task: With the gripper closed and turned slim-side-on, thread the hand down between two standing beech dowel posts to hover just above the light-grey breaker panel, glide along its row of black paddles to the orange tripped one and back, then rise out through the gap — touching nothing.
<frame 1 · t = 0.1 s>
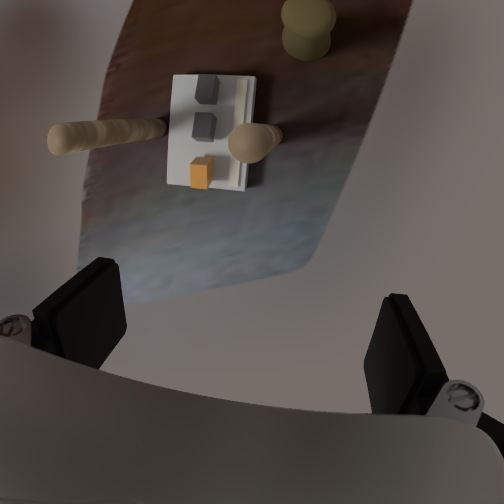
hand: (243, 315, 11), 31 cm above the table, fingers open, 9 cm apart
panel: (212, 130, 38), on the table
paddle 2: (204, 127, 35), point 4 cm above the table, hinge at -15.0°
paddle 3: (201, 172, 37), point 4 cm above the table, hinge at 15.0°
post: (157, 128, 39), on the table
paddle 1: (207, 89, 33), point 4 cm above the table, hinge at -15.0°
cork: (306, 39, 33), on the table
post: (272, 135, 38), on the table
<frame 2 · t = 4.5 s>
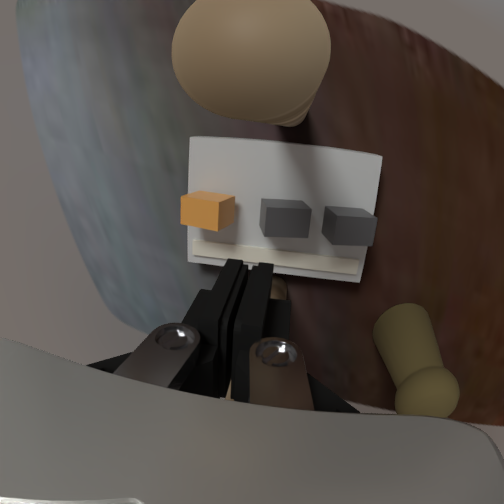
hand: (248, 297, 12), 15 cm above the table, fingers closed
panel: (281, 204, 26), on the table
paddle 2: (284, 217, 22), point 4 cm above the table, hinge at -15.0°
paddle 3: (207, 209, 23), point 4 cm above the table, hinge at 15.0°
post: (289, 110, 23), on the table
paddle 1: (348, 225, 22), point 4 cm above the table, hinge at -15.0°
cork: (401, 328, 28), on the table
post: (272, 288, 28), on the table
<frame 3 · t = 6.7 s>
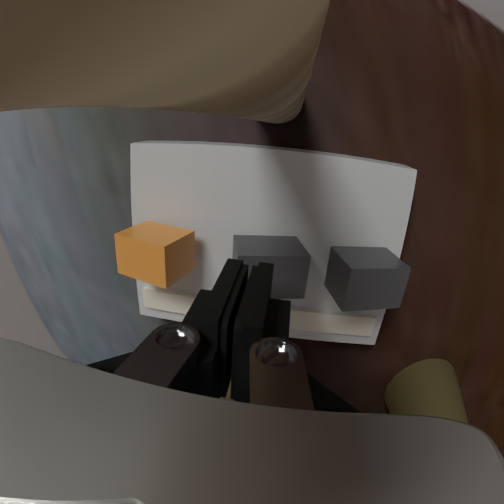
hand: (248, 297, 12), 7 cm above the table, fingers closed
panel: (265, 237, 18), on the table
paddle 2: (268, 265, 15), point 4 cm above the table, hinge at -15.0°
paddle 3: (155, 252, 15), point 4 cm above the table, hinge at 15.0°
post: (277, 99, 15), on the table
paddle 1: (366, 277, 14), point 4 cm above the table, hinge at -15.0°
cork: (420, 386, 21), on the table
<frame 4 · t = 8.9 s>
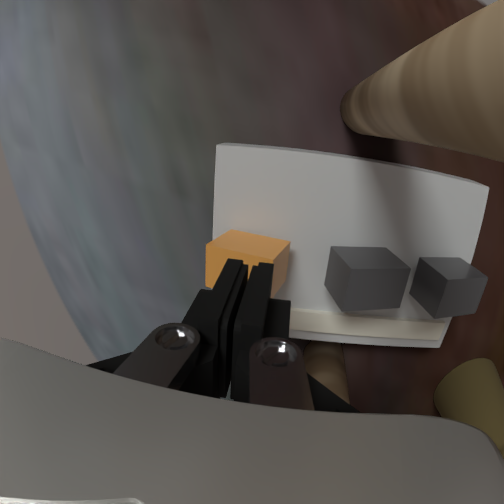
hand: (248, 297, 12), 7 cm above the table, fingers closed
panel: (346, 247, 17), on the table
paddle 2: (366, 277, 14), point 4 cm above the table, hinge at -15.0°
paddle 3: (248, 263, 15), point 4 cm above the table, hinge at 15.0°
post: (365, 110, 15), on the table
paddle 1: (448, 285, 14), point 4 cm above the table, hinge at -15.0°
cork: (464, 384, 20), on the table
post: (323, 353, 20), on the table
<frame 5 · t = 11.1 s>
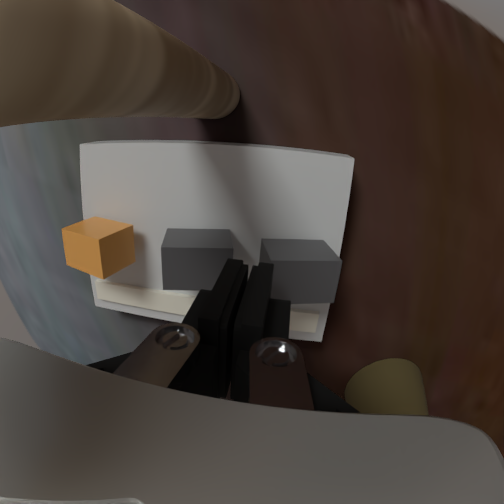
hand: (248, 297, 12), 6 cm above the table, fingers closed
panel: (208, 231, 18), on the table
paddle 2: (197, 258, 15), point 4 cm above the table, hinge at -15.0°
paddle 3: (98, 245, 15), point 4 cm above the table, hinge at 15.0°
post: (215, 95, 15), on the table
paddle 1: (297, 270, 14), point 4 cm above the table, hinge at -15.0°
cork: (383, 386, 21), on the table
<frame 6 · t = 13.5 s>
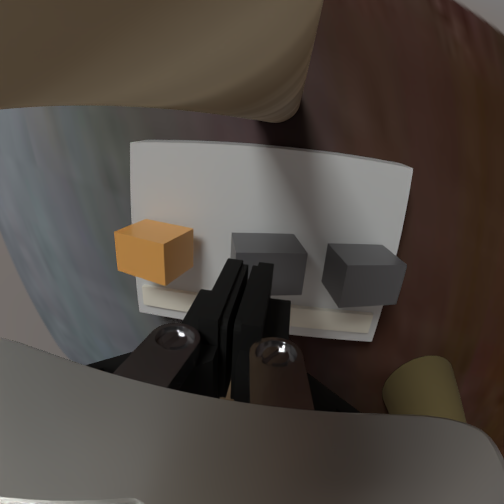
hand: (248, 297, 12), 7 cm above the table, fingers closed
panel: (263, 235, 18), on the table
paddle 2: (265, 263, 15), point 4 cm above the table, hinge at -15.0°
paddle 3: (154, 249, 15), point 4 cm above the table, hinge at 15.0°
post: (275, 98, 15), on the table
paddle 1: (362, 273, 14), point 4 cm above the table, hinge at -15.0°
cork: (417, 383, 21), on the table
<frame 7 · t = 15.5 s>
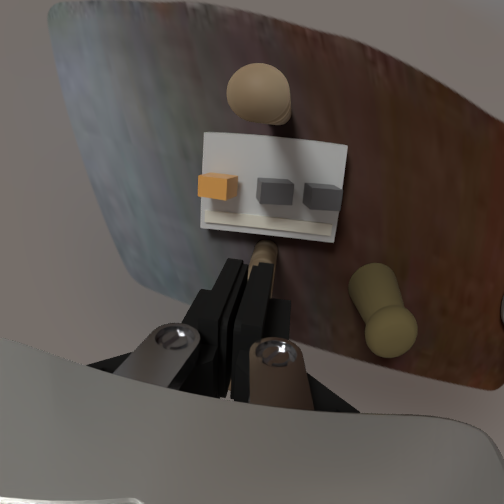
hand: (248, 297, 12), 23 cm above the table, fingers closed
panel: (272, 183, 33), on the table
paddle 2: (274, 191, 30), point 4 cm above the table, hinge at -15.0°
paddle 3: (218, 185, 30), point 4 cm above the table, hinge at 15.0°
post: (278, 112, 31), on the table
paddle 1: (322, 196, 30), point 4 cm above the table, hinge at -15.0°
cork: (372, 285, 37), on the table
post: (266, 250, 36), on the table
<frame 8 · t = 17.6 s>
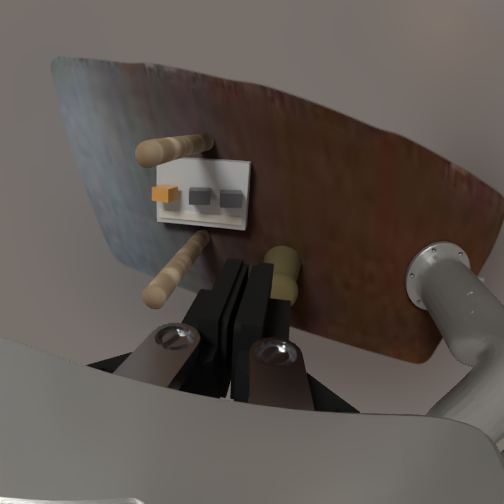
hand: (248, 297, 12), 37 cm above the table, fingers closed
panel: (203, 190, 49), on the table
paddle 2: (199, 195, 45), point 4 cm above the table, hinge at -15.0°
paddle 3: (164, 193, 46), point 4 cm above the table, hinge at 15.0°
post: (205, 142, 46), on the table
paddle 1: (230, 198, 45), point 4 cm above the table, hinge at -15.0°
cork: (282, 262, 52), on the table
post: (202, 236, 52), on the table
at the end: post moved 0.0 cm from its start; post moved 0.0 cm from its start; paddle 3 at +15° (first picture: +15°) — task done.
